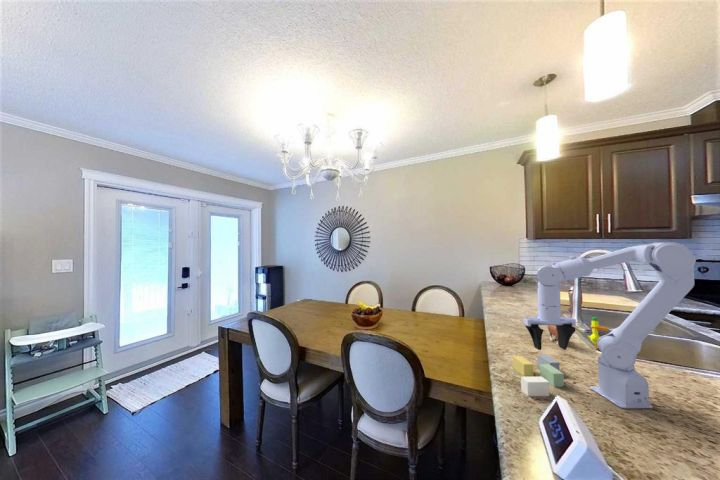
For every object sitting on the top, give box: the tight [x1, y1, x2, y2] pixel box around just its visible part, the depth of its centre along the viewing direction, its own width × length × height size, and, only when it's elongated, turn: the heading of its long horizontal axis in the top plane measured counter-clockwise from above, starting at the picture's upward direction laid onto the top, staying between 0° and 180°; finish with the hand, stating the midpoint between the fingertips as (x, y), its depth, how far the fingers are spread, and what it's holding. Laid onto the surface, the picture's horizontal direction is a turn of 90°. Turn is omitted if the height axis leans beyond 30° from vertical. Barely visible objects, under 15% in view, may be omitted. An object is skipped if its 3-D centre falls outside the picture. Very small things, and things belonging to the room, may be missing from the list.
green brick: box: [539, 364, 565, 388], centre depth 79 cm, size 6×3×4 cm, turn 179°
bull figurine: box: [547, 325, 559, 346], centre depth 108 cm, size 4×13×8 cm, turn 163°
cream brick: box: [520, 375, 550, 397], centre depth 73 cm, size 6×3×4 cm, turn 89°
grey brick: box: [536, 354, 560, 371], centre depth 86 cm, size 6×3×4 cm, turn 179°
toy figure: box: [587, 316, 610, 349], centre depth 103 cm, size 7×4×12 cm, turn 43°
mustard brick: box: [512, 355, 535, 377], centre depth 85 cm, size 6×3×4 cm, turn 179°
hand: (550, 348), depth 80 cm, fingers open, 7 cm apart
